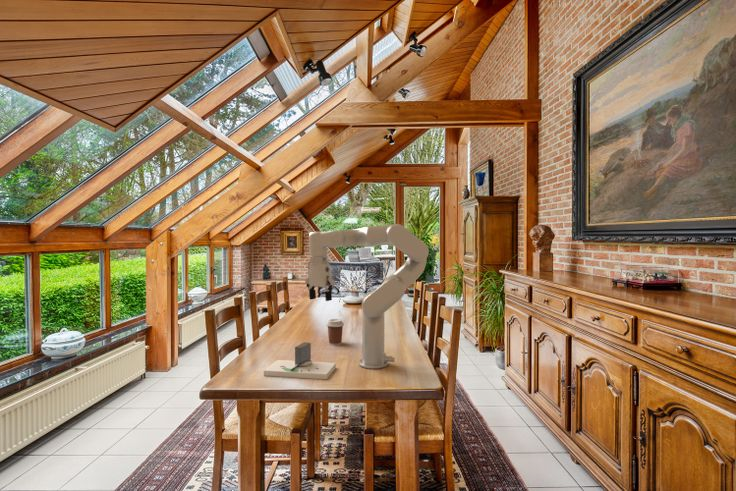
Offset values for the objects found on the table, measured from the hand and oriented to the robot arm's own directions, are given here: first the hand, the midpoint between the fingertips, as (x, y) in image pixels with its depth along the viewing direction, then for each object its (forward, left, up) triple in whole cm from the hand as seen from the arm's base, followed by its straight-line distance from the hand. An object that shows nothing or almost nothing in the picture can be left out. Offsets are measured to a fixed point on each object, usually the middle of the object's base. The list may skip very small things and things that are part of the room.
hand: (320, 299), depth 175 cm
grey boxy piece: (+6, +10, -26) cm, 28 cm away
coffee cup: (+3, -34, -28) cm, 44 cm away
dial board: (+6, +10, -28) cm, 30 cm away
